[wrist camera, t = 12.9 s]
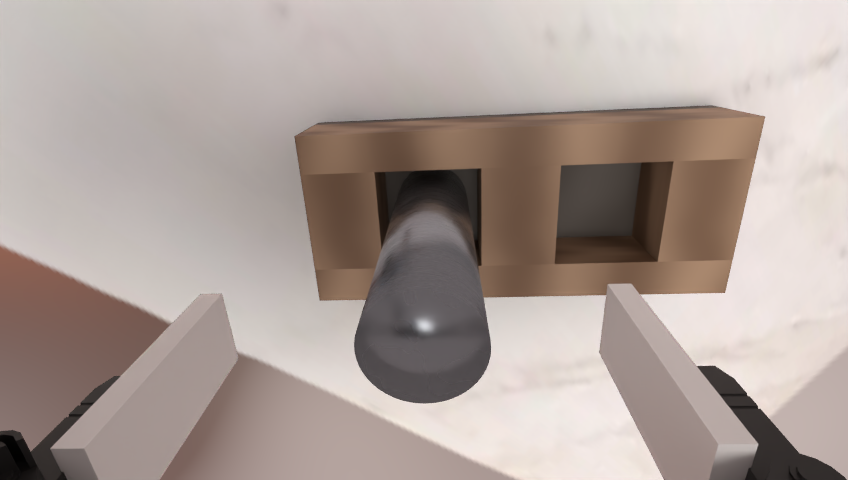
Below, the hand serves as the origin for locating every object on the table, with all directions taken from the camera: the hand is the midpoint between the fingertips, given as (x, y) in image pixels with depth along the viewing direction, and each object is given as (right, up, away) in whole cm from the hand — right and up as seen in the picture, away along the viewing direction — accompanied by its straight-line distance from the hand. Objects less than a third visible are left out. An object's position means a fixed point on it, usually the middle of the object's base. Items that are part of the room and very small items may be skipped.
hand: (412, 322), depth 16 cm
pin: (+1, +6, +14) cm, 15 cm away
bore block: (+6, +6, +14) cm, 17 cm away
